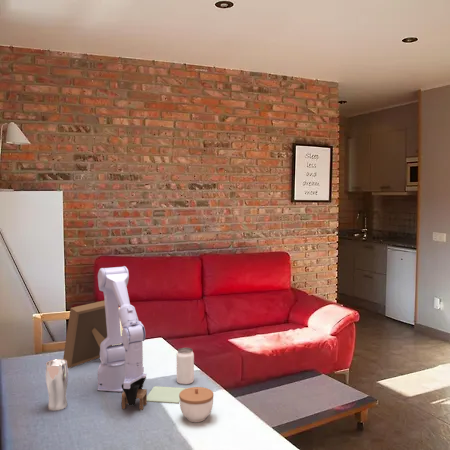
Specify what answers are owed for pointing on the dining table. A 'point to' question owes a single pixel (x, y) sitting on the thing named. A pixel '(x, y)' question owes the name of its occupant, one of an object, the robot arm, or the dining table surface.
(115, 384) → the robot arm
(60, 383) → the beer glass
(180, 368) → the can
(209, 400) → the lidded jar
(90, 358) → the photo frame
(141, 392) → the stool
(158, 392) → the mat
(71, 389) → the dining table surface
